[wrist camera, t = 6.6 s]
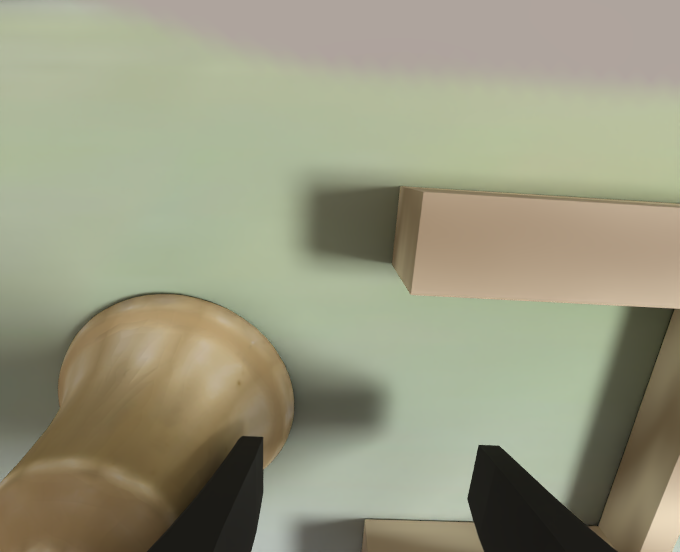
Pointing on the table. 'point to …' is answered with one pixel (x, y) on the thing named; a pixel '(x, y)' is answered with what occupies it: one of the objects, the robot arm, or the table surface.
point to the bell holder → (564, 287)
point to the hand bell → (143, 425)
